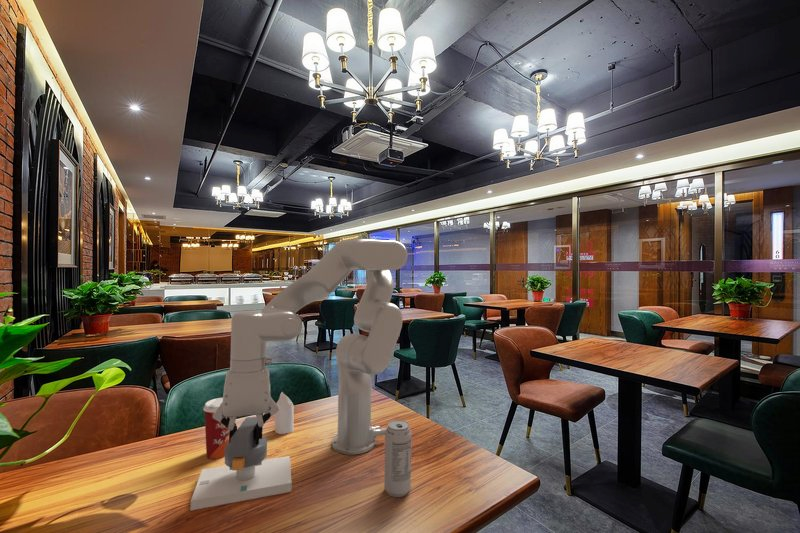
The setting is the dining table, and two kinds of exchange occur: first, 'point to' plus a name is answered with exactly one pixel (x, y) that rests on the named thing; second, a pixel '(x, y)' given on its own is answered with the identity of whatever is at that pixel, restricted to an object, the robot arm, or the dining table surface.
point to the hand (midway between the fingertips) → (245, 442)
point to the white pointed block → (284, 415)
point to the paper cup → (215, 431)
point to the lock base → (242, 483)
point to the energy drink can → (397, 458)
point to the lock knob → (245, 446)
